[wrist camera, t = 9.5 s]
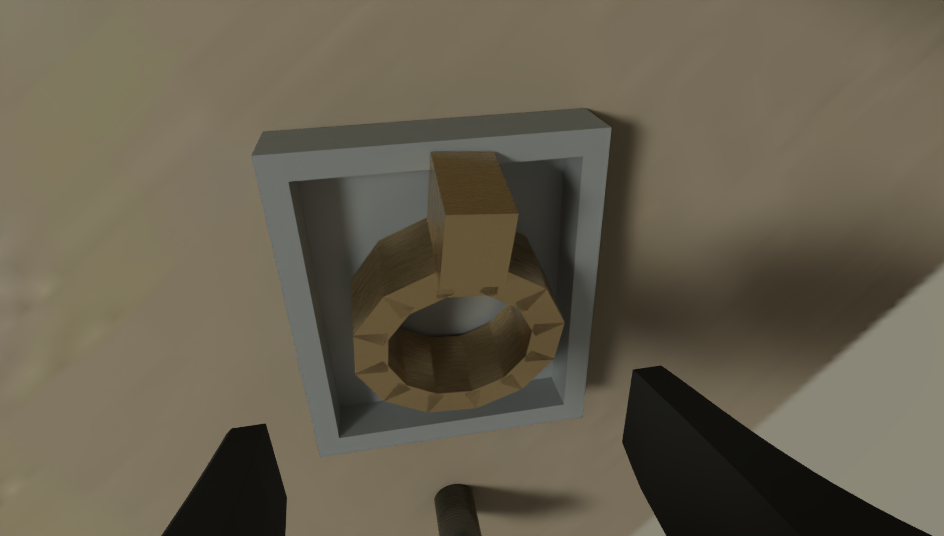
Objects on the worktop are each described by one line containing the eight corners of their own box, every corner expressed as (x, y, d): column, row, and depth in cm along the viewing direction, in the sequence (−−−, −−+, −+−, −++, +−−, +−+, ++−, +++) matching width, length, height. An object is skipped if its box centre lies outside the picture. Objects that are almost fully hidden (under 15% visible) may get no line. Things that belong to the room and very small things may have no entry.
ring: (355, 360, 21) (357, 432, 19) (344, 151, 15) (345, 217, 13) (524, 349, 22) (545, 414, 20) (571, 151, 16) (607, 211, 14)
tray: (322, 414, 23) (319, 457, 21) (262, 131, 17) (251, 156, 15) (564, 379, 24) (582, 416, 22) (585, 108, 18) (611, 127, 16)
